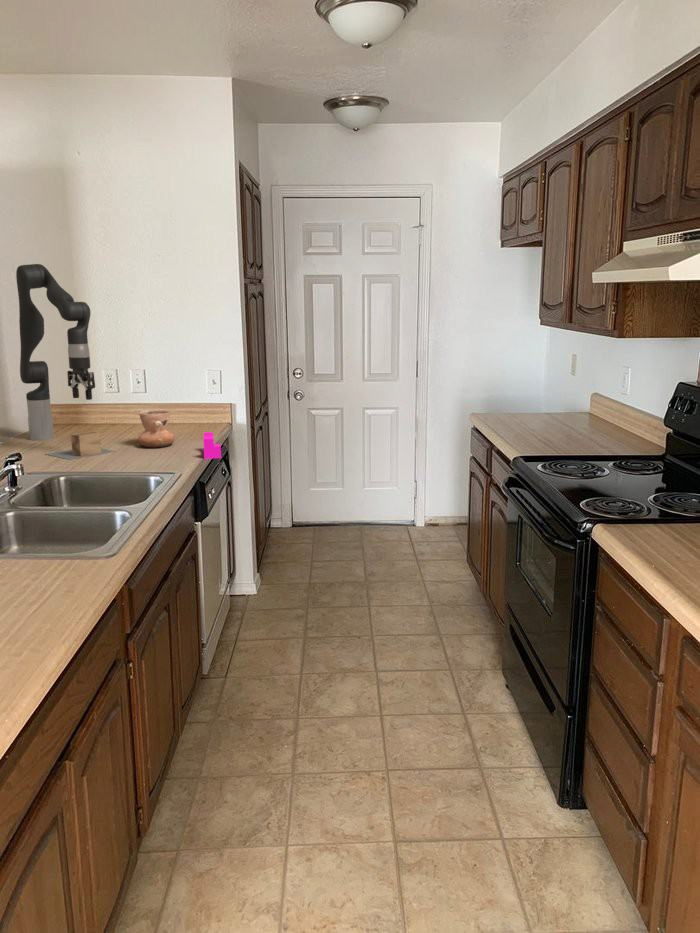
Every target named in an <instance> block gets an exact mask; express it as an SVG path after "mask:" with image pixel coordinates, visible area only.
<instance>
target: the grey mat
mask: <svg viewBox="0 0 700 933" xmlns="http://www.w3.org/2000/svg"><path fill="white" fill-rule="evenodd" d="M114 452H116V450H111V449H106V448H101V453H98V454H92V455H87V456H81V457H80V456H76V455H73V453H72V449H67V450H61V451H57V452H56V451H55V452H50V453H44V455H46V456H50V457H56V458H60V459H65V460H69V461H71V460H76V459H80V458H86V457H87V458H88V457H94V456H96V455H102V454H103V455H104V454H107V453H114Z"/></svg>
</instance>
